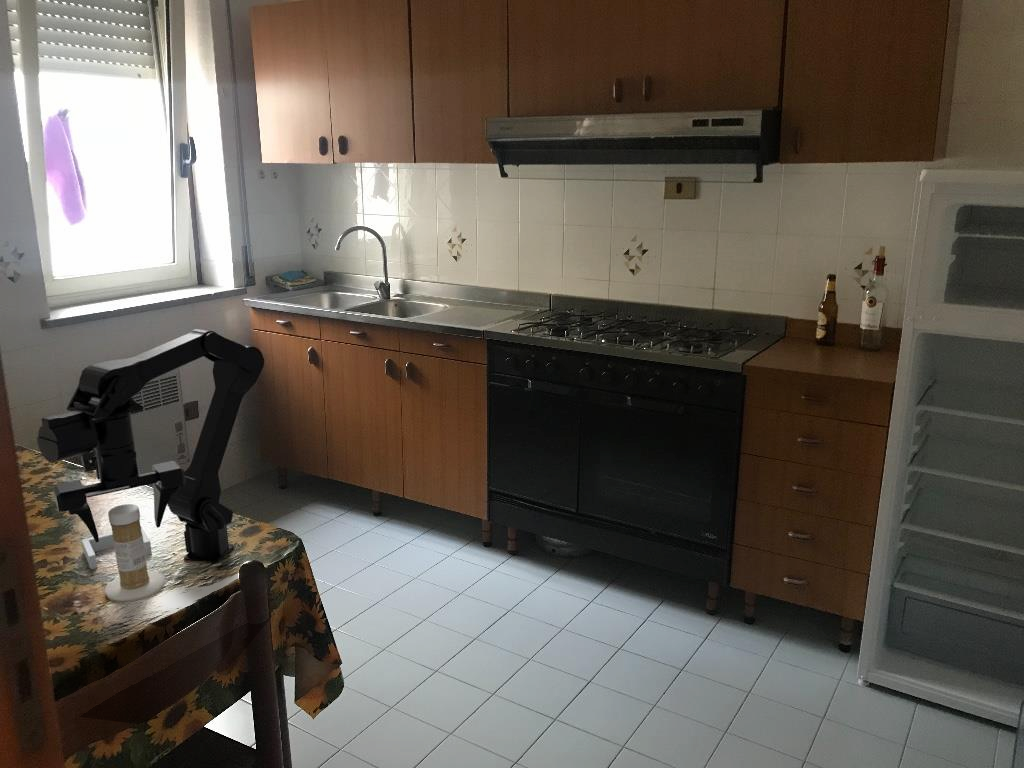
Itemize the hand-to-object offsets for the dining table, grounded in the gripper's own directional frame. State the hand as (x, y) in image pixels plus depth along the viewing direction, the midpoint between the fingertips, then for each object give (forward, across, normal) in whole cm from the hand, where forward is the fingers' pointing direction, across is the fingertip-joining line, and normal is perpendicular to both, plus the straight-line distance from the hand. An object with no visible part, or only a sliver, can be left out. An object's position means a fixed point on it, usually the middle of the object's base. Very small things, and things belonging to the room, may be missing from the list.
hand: (128, 533), depth 135 cm
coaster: (+10, 0, 0) cm, 10 cm away
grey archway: (+10, 0, -14) cm, 18 cm away
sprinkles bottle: (+9, 0, 0) cm, 9 cm away
